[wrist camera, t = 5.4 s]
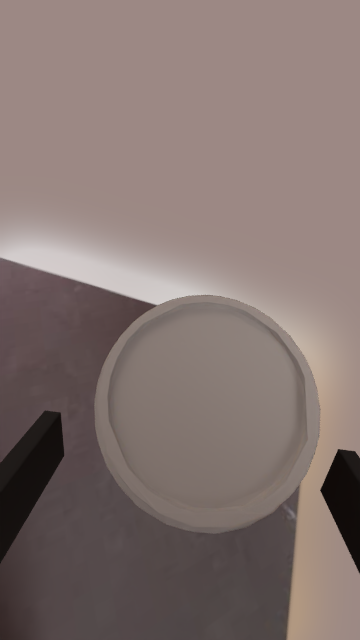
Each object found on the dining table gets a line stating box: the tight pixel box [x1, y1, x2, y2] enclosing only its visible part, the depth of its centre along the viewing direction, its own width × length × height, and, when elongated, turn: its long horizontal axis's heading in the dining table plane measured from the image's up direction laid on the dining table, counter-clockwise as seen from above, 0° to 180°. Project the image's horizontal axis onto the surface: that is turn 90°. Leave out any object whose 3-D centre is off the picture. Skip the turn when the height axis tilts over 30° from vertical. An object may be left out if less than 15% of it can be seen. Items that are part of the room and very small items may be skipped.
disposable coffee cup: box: [94, 295, 320, 534], centre depth 15 cm, size 10×10×12 cm
